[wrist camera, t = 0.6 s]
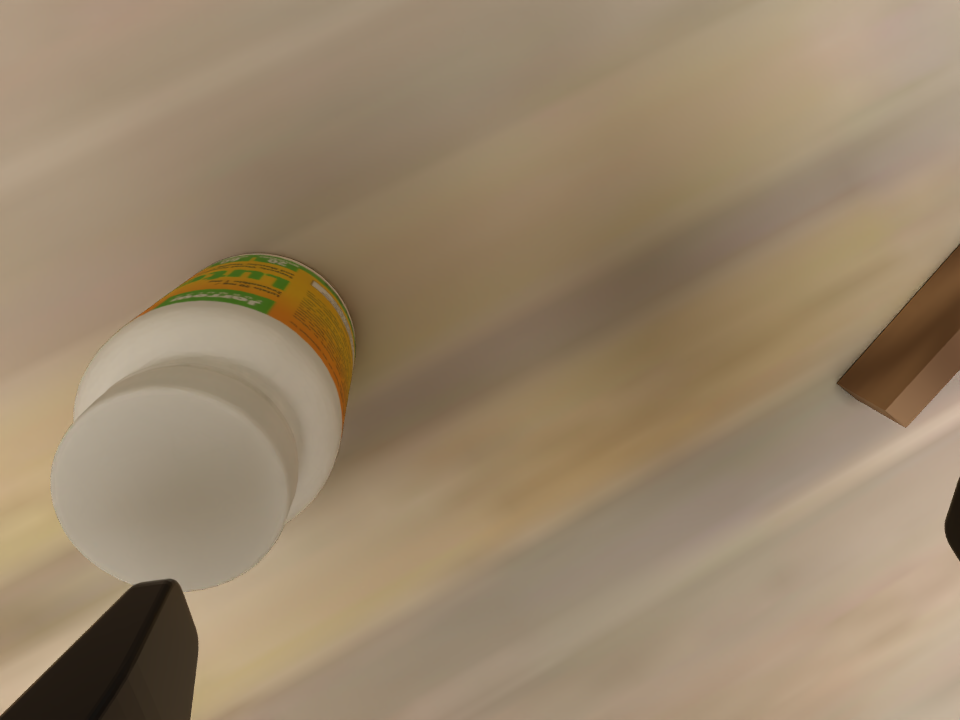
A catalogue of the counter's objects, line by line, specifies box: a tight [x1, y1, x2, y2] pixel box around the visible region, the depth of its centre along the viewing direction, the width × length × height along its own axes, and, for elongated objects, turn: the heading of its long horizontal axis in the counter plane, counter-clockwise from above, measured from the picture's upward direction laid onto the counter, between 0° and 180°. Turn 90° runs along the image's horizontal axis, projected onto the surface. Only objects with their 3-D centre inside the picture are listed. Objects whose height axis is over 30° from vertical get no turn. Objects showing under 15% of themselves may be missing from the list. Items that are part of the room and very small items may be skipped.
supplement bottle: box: [51, 253, 356, 592], centre depth 17 cm, size 5×5×10 cm
